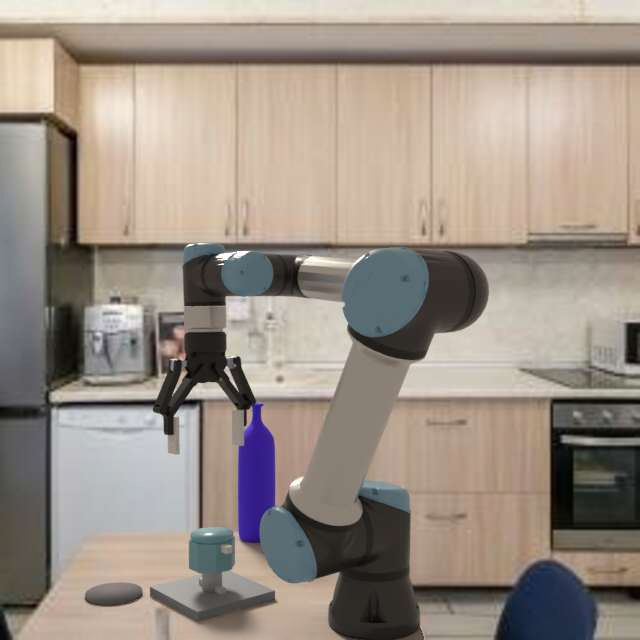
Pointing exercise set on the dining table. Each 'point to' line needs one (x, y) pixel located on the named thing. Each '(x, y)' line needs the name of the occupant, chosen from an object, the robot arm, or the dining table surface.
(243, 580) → the stand
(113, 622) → the dining table surface
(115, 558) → the dining table surface
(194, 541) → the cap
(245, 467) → the bottle
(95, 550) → the dining table surface
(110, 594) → the mat
